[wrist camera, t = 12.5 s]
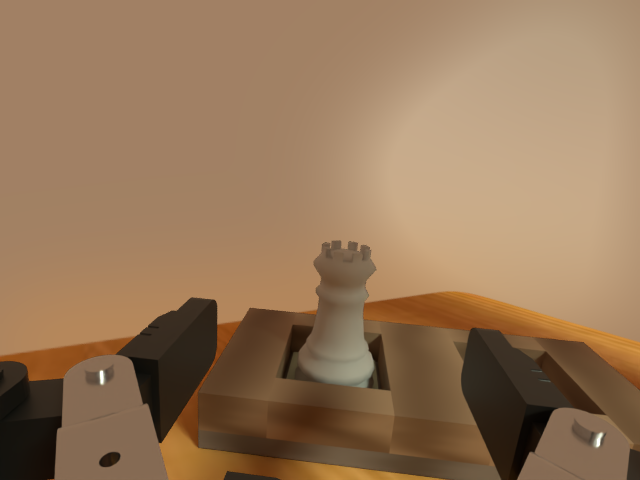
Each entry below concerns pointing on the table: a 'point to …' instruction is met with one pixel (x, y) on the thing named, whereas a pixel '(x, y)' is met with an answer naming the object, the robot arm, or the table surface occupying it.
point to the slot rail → (383, 398)
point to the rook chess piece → (339, 320)
